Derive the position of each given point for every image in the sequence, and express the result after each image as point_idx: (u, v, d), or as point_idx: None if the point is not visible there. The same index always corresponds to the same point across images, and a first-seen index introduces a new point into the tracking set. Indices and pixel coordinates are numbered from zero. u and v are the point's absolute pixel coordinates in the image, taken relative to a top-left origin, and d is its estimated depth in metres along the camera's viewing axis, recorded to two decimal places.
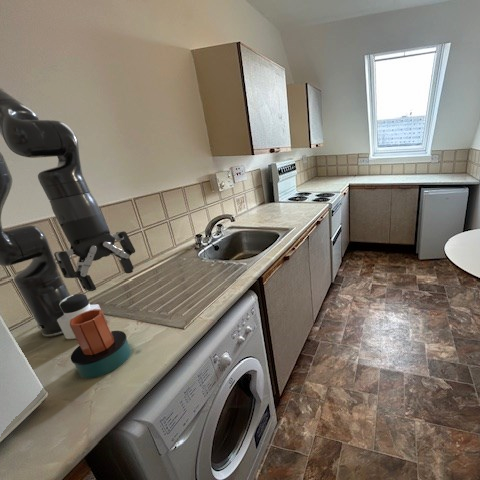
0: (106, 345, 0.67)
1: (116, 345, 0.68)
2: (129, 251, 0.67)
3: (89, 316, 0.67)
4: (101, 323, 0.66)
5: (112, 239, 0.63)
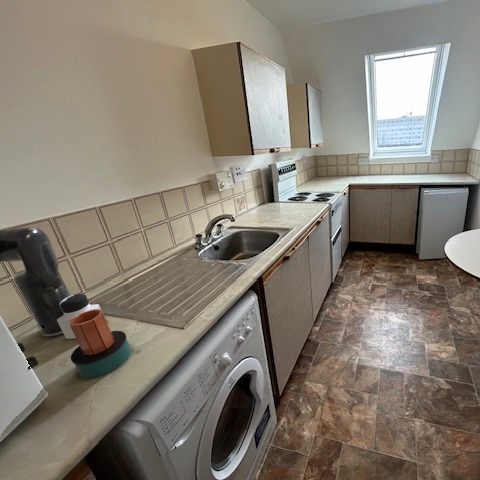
0: (106, 345, 0.67)
1: (116, 345, 0.68)
2: None
3: (89, 316, 0.67)
4: (101, 323, 0.66)
5: None
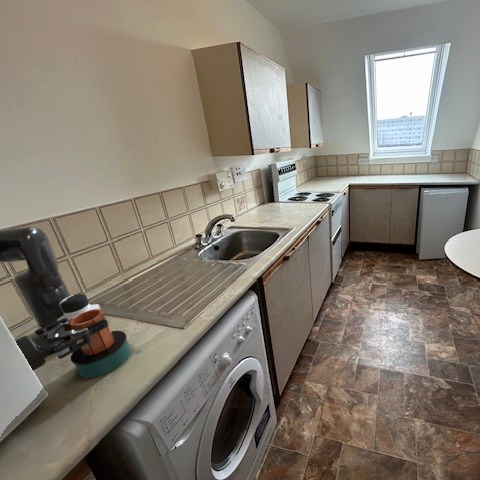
0: (106, 345, 0.67)
1: (116, 345, 0.68)
2: None
3: (89, 316, 0.67)
4: None
5: None
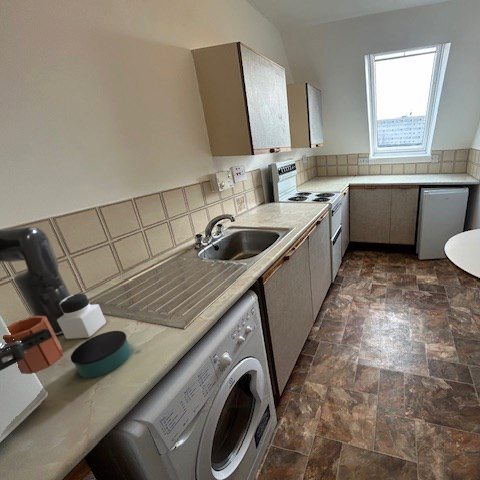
0: (50, 361, 0.53)
1: (116, 345, 0.68)
2: None
3: (30, 324, 0.54)
4: None
5: None
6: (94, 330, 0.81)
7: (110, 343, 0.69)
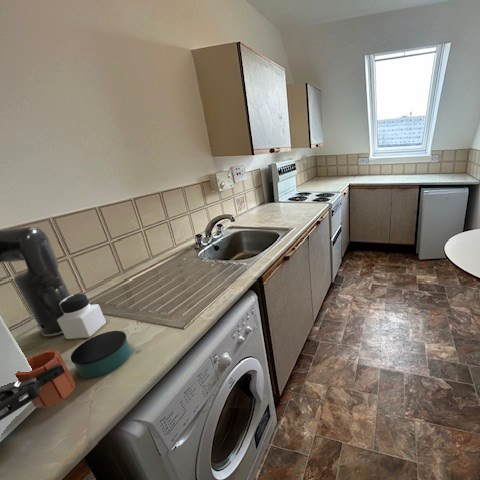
0: (63, 395, 0.55)
1: (116, 345, 0.68)
2: None
3: (43, 359, 0.56)
4: None
5: None
6: (94, 330, 0.81)
7: (110, 343, 0.69)
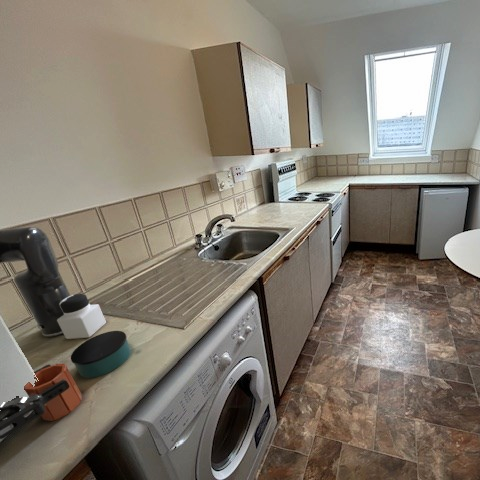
0: (70, 407, 0.57)
1: (116, 345, 0.68)
2: None
3: (51, 372, 0.57)
4: None
5: None
6: (94, 330, 0.81)
7: (110, 343, 0.69)
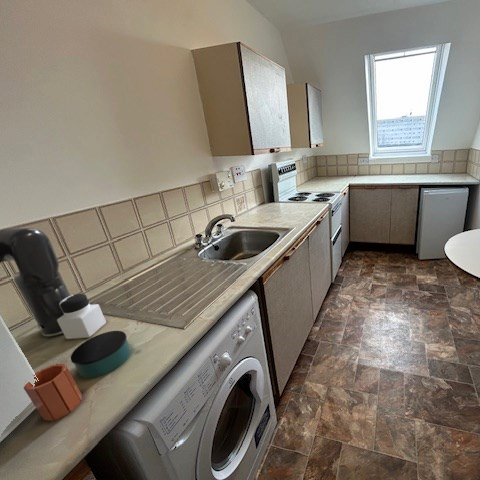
0: (70, 407, 0.57)
1: (116, 345, 0.68)
2: None
3: (51, 372, 0.57)
4: (64, 383, 0.55)
5: None
6: (94, 330, 0.81)
7: (110, 343, 0.69)
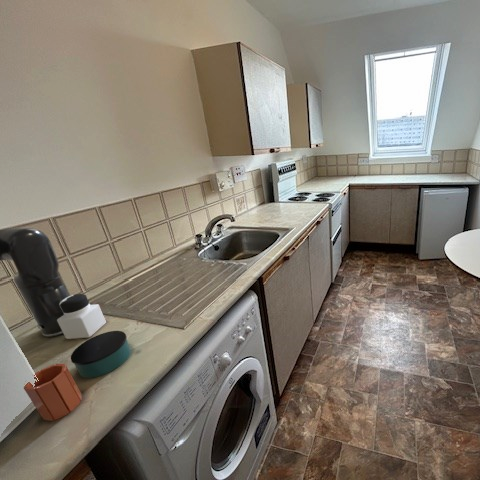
0: (70, 407, 0.57)
1: (116, 345, 0.68)
2: None
3: (51, 372, 0.57)
4: (64, 383, 0.55)
5: None
6: (94, 330, 0.81)
7: (110, 343, 0.69)
